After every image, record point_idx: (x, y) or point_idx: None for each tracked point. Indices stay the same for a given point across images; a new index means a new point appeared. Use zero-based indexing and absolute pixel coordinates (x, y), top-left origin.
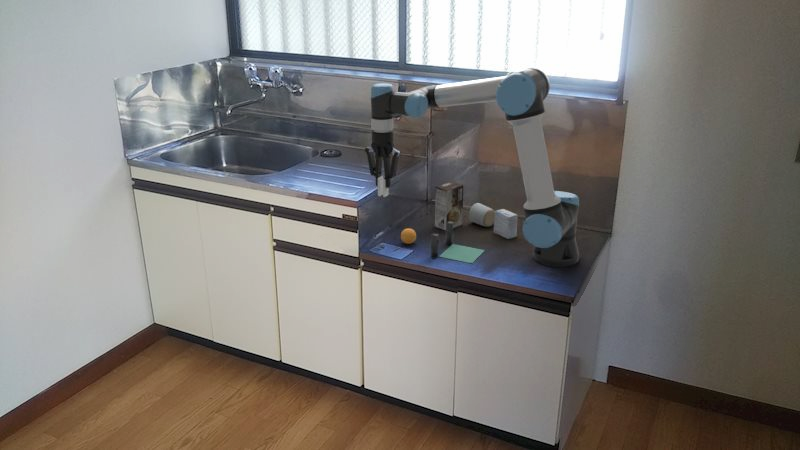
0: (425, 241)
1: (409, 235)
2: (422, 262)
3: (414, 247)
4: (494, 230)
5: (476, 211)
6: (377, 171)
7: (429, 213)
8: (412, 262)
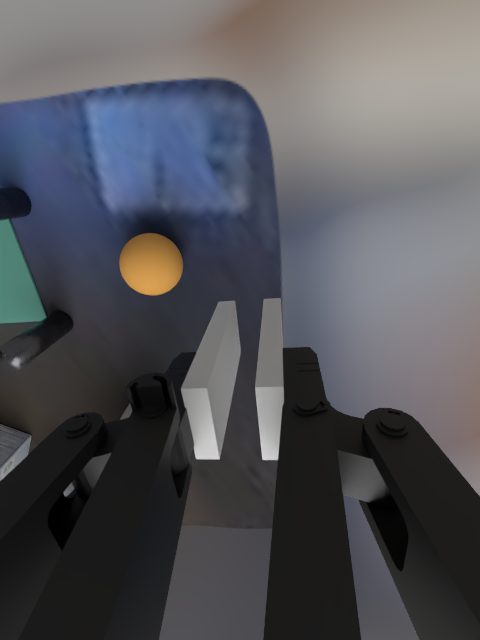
0: (127, 300)
1: (126, 246)
2: (7, 125)
3: (122, 235)
4: (24, 439)
5: (71, 491)
6: (292, 468)
7: (250, 477)
8: (31, 100)
